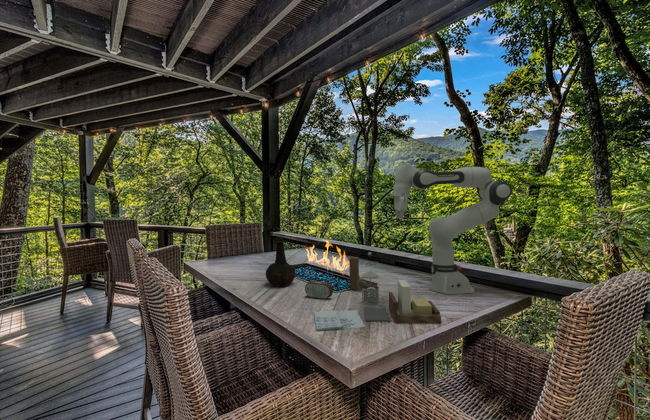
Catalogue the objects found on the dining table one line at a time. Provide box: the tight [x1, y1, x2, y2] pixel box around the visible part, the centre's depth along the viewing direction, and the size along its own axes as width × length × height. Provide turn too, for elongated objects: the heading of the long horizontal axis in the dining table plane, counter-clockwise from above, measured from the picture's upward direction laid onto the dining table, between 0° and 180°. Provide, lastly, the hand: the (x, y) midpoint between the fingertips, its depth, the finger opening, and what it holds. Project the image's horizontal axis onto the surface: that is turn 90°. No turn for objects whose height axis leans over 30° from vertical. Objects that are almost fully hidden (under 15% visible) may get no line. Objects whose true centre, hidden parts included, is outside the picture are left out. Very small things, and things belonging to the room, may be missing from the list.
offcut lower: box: [412, 307, 432, 314], centre depth 136 cm, size 6×9×3 cm, turn 176°
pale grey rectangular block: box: [397, 279, 412, 314], centre depth 136 cm, size 4×11×14 cm, turn 176°
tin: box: [304, 280, 334, 300], centre depth 162 cm, size 15×3×8 cm, turn 65°
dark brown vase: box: [265, 237, 296, 287], centre depth 190 cm, size 18×18×28 cm
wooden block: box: [348, 256, 368, 292], centre depth 175 cm, size 9×4×18 cm, turn 75°
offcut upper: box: [411, 298, 432, 313], centre depth 136 cm, size 6×9×3 cm, turn 177°
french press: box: [357, 251, 382, 308], centre depth 152 cm, size 10×12×25 cm
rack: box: [388, 291, 442, 324], centre depth 136 cm, size 18×17×8 cm
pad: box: [363, 307, 391, 323], centre depth 137 cm, size 10×14×1 cm
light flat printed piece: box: [313, 309, 366, 332], centre depth 132 cm, size 19×20×2 cm
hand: (399, 219), depth 172 cm, fingers open, 8 cm apart
